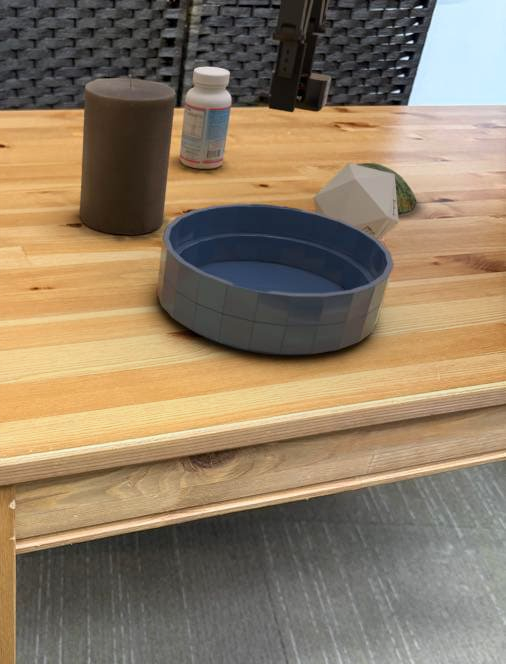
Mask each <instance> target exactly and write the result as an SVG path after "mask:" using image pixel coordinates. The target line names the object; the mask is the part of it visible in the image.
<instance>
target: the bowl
mask: <svg viewBox="0 0 506 664" xmlns="http://www.w3.org/2000/svg"><path fill="white" fill-rule="evenodd" d="M162 234H163V235H162V238H161V250H160V257H159V265H158V266H159V267H158V276H157V286H156V294H157V297H158V300H159V303H160V305H161V307H162V308H163V309H164V310H165V311H166V313H168V314H169V316H170V317H171V318H172V319H173V320H175V321H176V322H178V323H179V324H181V325H182V326H184V327H186V328H187V329H188V330H190V331H192V332H193V333H194V334H197V335H198V336H201V337H203V338H206V339H207V340H209V341H212V342H215V343H218V344H220V345H223V346H227V347H230V348H234V349H237V350H241V351H242V350H243V351H246V352H252V353H258V354H262V355H263V354H265V355H276V356H308V355H316V354H317V355H318V354H323V353H328V352H333V351H339V350H341V349H345V348H346V347H350V346H353V345H355V344H358V343H359V342H361V341H362V340H364V339H365V338H366V337H368V336H369V335H370V334H372V333H373V331H374V329H375V327H376V324H377V322H378V320H379V316H380V313H381V310H382V307H383V303H384V301H385V297H386V294H387V290H388V287H389V284H390V281H391V277H392V274H393V270H394V268H395V264H394V260H393V256H392V253H391V251H390V250H389V249H388V248H387V247H386V246H385V245H384V243H383V242H382V241H381V240H380V241H379V240H378V239H376V238H375V237H373V236H372V235H370V234H369V233H367V232H366V231H364V230H362V229H360V228H358V227H355V226H353V225H351V224H349V223H347V222H344V221H342V220H339V219H335V218H332V217H329V216H326V215H323V214H319V213H316V211H315V212H314V211H311V210H306V209H305V210H304V209H300V208H295V207H290V206H281V205H274V204H273V205H272V204H262V203H261V204H260V203H259V204H258V203H234V204H233V203H231V204H220V205H219V204H218V205H211V206H207V207H202V208H198V209H193V210H190V211H187V212H185V213H183V214H181V215H179V216H177V217H175V218H174V219H173V220H172V221H171V222H169V223H168V224H167V225H165V228H164V231H163V233H162Z"/></svg>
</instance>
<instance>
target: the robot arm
mask: <svg viewBox="0 0 506 664" xmlns="http://www.w3.org/2000/svg"><path fill="white" fill-rule="evenodd" d="M329 5H330V0H280V5H279V10H278V17H277V22H276V23H277V24H276V27H275V32H272V36H271V37H272V38H271V39H272V40H273V41H276V42H277V41H278V42H279V44H278V50H277V56H276V63H275V69H274V70H275V74H274V80H273V86H272V92H271V98H270V104H269V105H268V109H269V110H275V111H276V110H277V111H282V112H288V113H294V112H295V109H296V108H295V104H296V99H297V93H298V88H299V82H300V77H301V72H302V71H303V72H310V73H313V67H314V63H315V62H314V60H315V56H316V51H317V47H318V42H319V34H320V35H326V34H327V33H328V28H329V25H325V23H326V21H327V19H328V10H329Z"/></svg>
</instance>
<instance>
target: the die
mask: <svg viewBox="0 0 506 664" xmlns="http://www.w3.org/2000/svg"><path fill="white" fill-rule="evenodd" d="M313 203H314V204H313V205H314V211H315V213H319V214H323V215H326V216H329V217H332V218H335V219H339V220H342V221H344V222H347V223H349V224H351V225H353V226H355V227H358V228H360V229H362V230H364V231H366V232H367V233H369V234H370V235H372V236H373V237H375V238H376V239H378V240H379V241H380V242H381V240H382V239H383V238H384V237H385V236H386V235H387V234H388V233H389V232H390V231H391V230H392V229H393V228H394V227H395V226H396V225H397V224H398V223H399V213H398V209H397V197H396V185H395V174H392V173H388V172H384V171H379V170H375V169H371V168H367V167H363V166H359V165H357V164H355V163H352V162H351V163H350V162H348V163H346V164H345V166H343V167H342V168H341V170H340V171H338V173H337V174H335V175H334V176H333V177H332V178H331V179H330V180H329V181H328V182H327V183H326V184H325V185H324V186H323V187H322V188H320V190H319V191H318V192H317V193H316V194H315V195H314V196H313Z"/></svg>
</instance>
